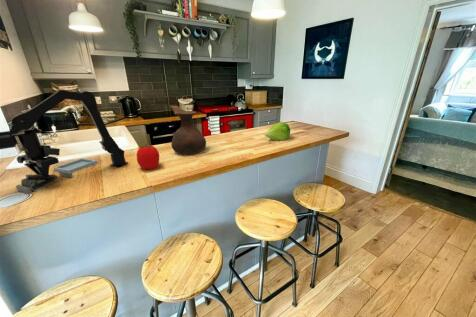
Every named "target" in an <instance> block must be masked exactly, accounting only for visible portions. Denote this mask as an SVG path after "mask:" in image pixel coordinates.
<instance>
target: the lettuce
mask: <svg viewBox="0 0 476 317" xmlns="http://www.w3.org/2000/svg"><path fill="white" fill-rule="evenodd" d="M264 136H265V137H266V138H268V139H270V140H272V141H279V142H282V141H286V140H287V139H289V137H290V136H291V127H290V125H289V124H288V123H287V122H283V121H282V122H281V121H280V122H276V123H274V124H272V125H271V126H270V127H269V128H268V130H267V131H266V132H265V133H264Z"/></svg>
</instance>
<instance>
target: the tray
mask: <svg viewBox="0 0 476 317" xmlns="http://www.w3.org/2000/svg"><path fill="white" fill-rule="evenodd" d="M98 164H99V163H98V160H96V159H90V158H84V157H81V158H79V159H75V160H72V161H69V162H67V163H64V164H61V165H57V166H55V167H54V166H53V171H54V172H57V173H59V171H66V172H70V173H72V174H73V173H75V172H78V171H81V170H84V169H86V168H89V167H92V166H95V165H98Z"/></svg>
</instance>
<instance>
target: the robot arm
mask: <svg viewBox="0 0 476 317" xmlns="http://www.w3.org/2000/svg"><path fill="white" fill-rule="evenodd" d="M65 100H71V101H79V102H80V103H81V105H82V106H83V107H84V108H85V109H86V111H87V112H88V113H89V116H90V117H91V120H92V121H93V124H94V126H95V127H96V130H97V131H98V133H99V135H100V137H101V141H100V140H99V142H98V143H100V145H101V149H102V150H104V151H105V152H106V153H108V154H110V159H111V164H110V165H109V166H111V167H116V168H120V167H123V166H125V165H128V164H129V161H126V158H125V151H124V150H123V149H122V148H121V147H119V145H118V144H117V142H116V141H115V140H114V139H113V138H112V136H111V134H110V132H109V130H108V128H107V125H106V123H105V122H104V119H103V118H102V116H101V113H100V111H99V109H98V103H97V98H96V96H95V95H94V93H93V92H92V91H88V90H81V91H80V92H78V91H77V92H76V91H71V90H65V89H58V90H56V92H54V93H53V94H51V95H50V96H48V97H47V98H46V99H44V100H43V101H40V102H39V103H38V104H36V105H35V106H33V107H32V108H29V109H26V110H25V111H22V112H20V113H17V114H16V115H14V116H12V118H11V125H12V126H11V127H10V128H8V131H0V150H6V149H12V148H16V147H17V145H19V142H20V145H21V148H20V151H23V153H24V154H22V155H21V154H20V155H18V156H17V157H16V161H17V163H18V164H23V165H24V166H25V167H26V168H28V169H29V170H31V171H32V172H33V173H35V174H40V175H42V176H43V177H45V178H48V177H49V175H50V166H53V165H56V164H60V161H59V158H58V157H56V156H60V153H61V152H60V148H57V147H56V148H55V147H51V145H47V144H44V145H43V144H41V142H40V139H39V136H38V134H41V133H43V131H42V129H39V128H37V127H36V126H34V125H35V123H36V122H37V121H38V120H39V119H40V118H41V117H42V116H43V115H45V114H46V113H48V112H49V111H50V110H52V109H54V108H55V107H56V106H58V105H59V104H60V103H62V102H63V101H65ZM33 126H34V127H33ZM32 127H33V128H32ZM31 128H32V129H31ZM21 131H23V132H21ZM18 140H19V141H18ZM24 162H25V163H24Z"/></svg>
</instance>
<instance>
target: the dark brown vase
mask: <svg viewBox="0 0 476 317" xmlns="http://www.w3.org/2000/svg"><path fill="white" fill-rule="evenodd" d="M169 108H170V109H172V112H173V113H174V115H175V116H178V118H179V119H180V126H179V128H178V129H177V130H176V131H175V132H172V136H173V137H172V140H171V143H170V144H171V148H172V150H173V151H174V152H175V154H178V155H180V156H181V155H182V156H192V155H196V154H199V153H201V152H203V151H204V149H205V148H206V146H207V140H206V138H205V136H204V134H203V133H202V132H201V131H200V130H199V129H198V128H197V127H195V125H194V123H193V116H195V115H196V114H197V111H193V110H183V109H182V108H181V107H179V106H177V105H170V106H169Z"/></svg>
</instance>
